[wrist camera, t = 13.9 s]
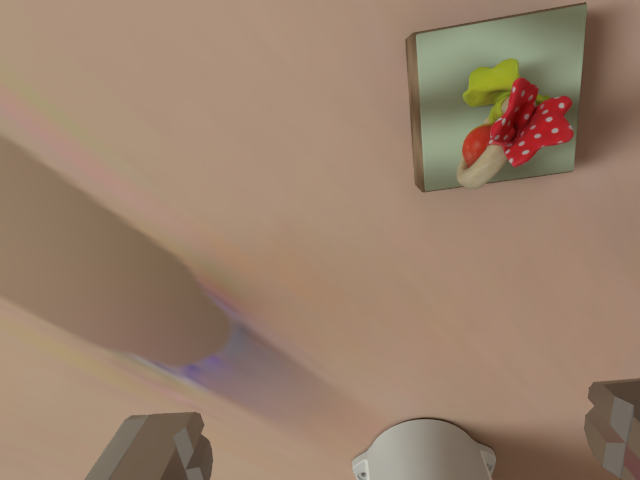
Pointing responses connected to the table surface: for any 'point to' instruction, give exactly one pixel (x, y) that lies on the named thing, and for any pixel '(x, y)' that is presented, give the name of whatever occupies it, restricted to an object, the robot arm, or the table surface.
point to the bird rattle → (509, 123)
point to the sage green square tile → (459, 118)
